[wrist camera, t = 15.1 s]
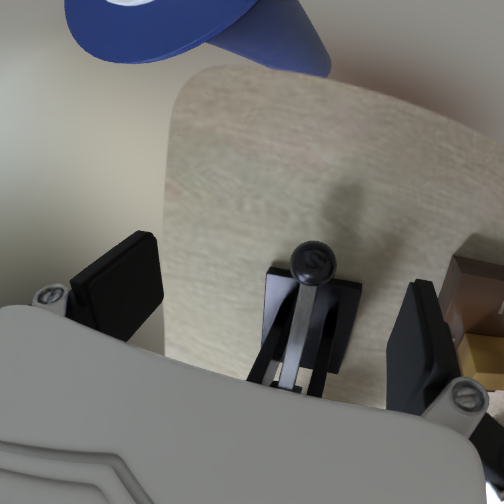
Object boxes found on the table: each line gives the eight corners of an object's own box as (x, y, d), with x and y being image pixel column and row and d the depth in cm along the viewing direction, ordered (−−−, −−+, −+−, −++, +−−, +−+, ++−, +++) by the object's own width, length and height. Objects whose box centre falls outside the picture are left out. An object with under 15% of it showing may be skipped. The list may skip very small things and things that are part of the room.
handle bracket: (269, 266, 27) (213, 360, 17) (362, 283, 25) (353, 393, 15) (263, 350, 32) (219, 442, 22) (339, 366, 29) (318, 467, 19)
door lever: (296, 242, 23) (292, 231, 20) (339, 249, 22) (341, 240, 19) (259, 410, 22) (248, 424, 18) (300, 420, 21) (296, 436, 18)
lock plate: (452, 254, 21) (462, 273, 19) (539, 273, 19) (553, 292, 16) (409, 363, 27) (411, 386, 24) (488, 372, 24) (494, 393, 21)
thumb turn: (456, 349, 21) (466, 391, 17) (465, 332, 20) (477, 374, 16) (500, 353, 20) (514, 393, 16) (509, 338, 19) (525, 377, 15)
